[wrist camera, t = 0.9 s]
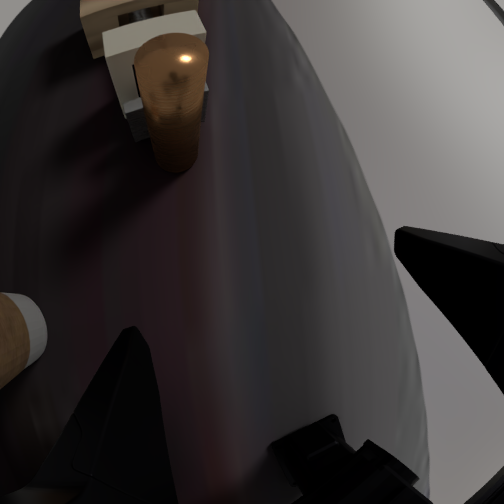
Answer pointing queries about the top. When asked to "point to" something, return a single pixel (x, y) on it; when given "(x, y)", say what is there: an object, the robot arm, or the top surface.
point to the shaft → (169, 95)
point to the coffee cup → (19, 335)
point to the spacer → (133, 37)
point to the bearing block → (121, 16)
